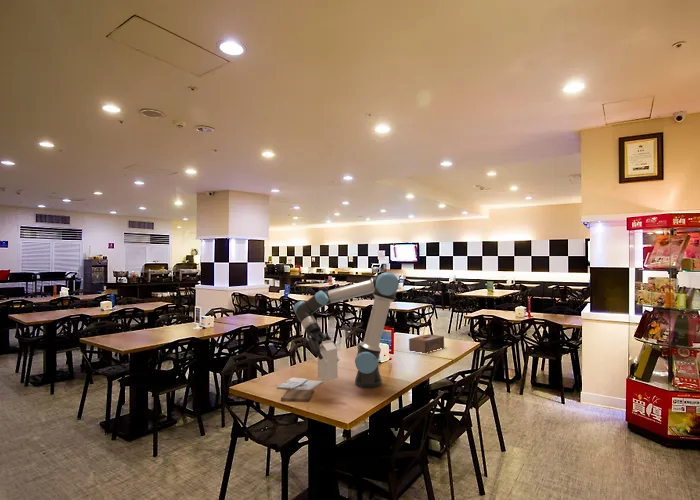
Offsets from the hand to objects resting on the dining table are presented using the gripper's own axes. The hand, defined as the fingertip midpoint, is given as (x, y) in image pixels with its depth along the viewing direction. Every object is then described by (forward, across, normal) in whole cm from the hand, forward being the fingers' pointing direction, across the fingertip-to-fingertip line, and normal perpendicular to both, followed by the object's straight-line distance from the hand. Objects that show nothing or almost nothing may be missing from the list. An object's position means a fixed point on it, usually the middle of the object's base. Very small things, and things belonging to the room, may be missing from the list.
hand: (332, 362), depth 197 cm
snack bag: (-9, -4, -36) cm, 37 cm away
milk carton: (+4, 0, -9) cm, 9 cm away
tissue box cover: (-8, -126, -36) cm, 131 cm away
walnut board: (+1, +9, -25) cm, 27 cm away
